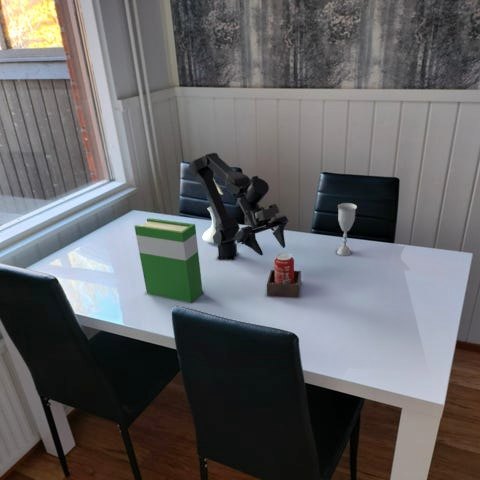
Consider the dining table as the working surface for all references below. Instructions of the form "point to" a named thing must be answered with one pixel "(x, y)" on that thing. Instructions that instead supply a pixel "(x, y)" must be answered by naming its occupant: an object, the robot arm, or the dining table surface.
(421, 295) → the dining table surface
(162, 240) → the hardback book
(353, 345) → the dining table surface
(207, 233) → the flower in vase
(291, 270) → the beverage can
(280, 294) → the crate
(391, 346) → the dining table surface
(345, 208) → the chalice
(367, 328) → the dining table surface
